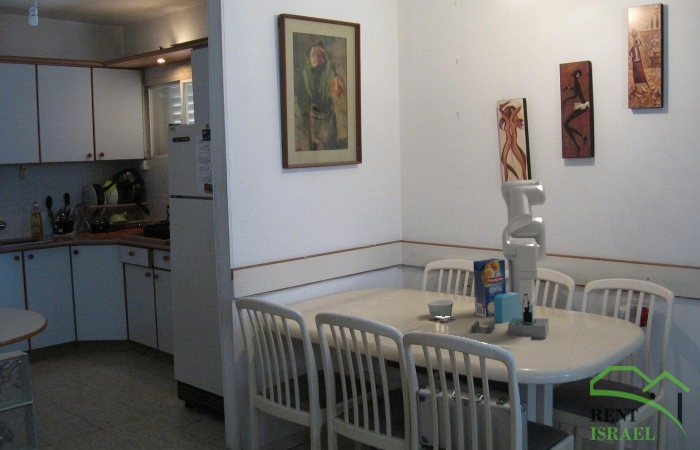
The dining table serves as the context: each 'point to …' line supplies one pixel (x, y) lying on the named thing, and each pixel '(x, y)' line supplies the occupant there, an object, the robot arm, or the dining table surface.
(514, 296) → the data package
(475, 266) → the juice carton
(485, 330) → the bracket
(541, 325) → the port block
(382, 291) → the dining table surface
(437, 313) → the food container
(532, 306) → the teal plug
